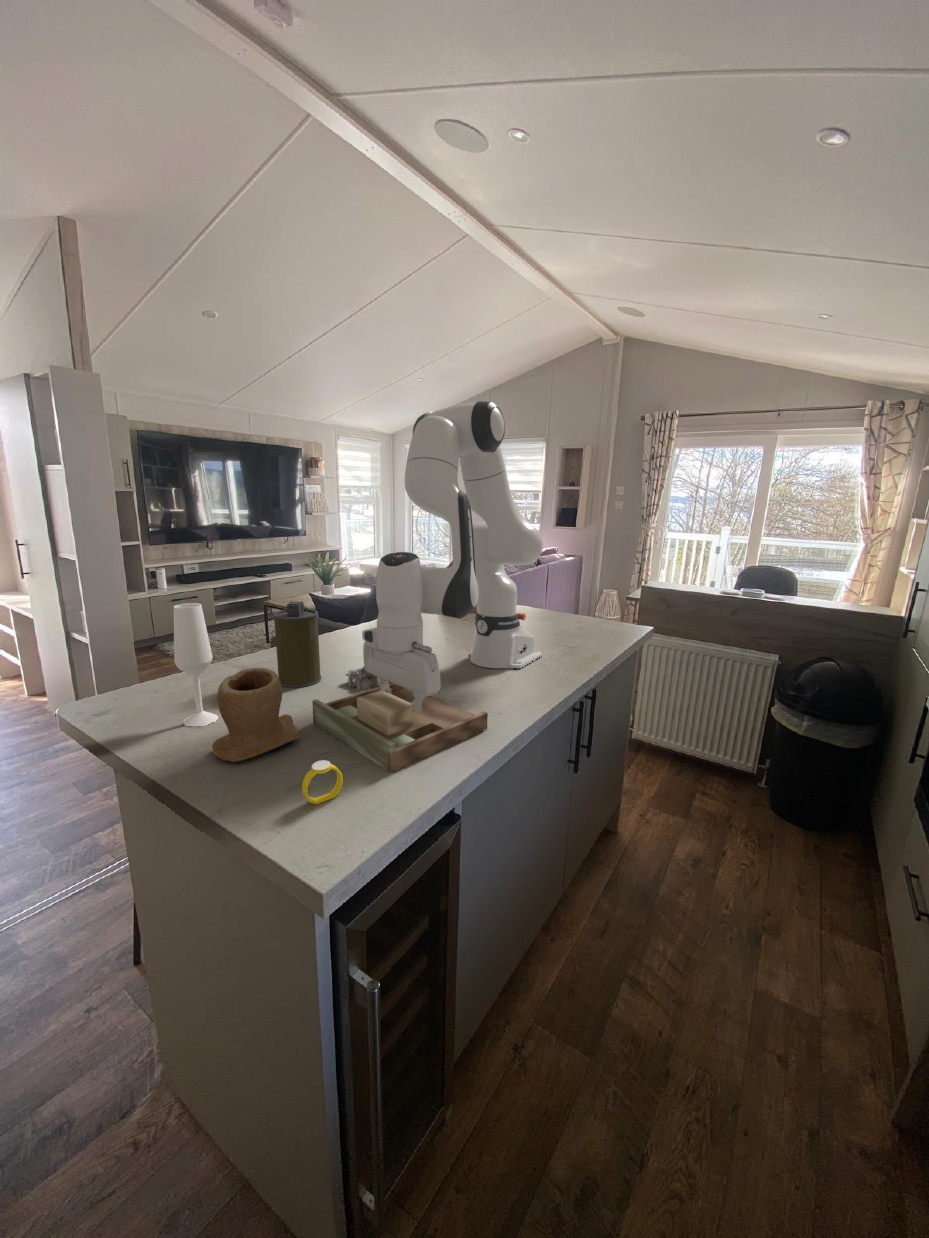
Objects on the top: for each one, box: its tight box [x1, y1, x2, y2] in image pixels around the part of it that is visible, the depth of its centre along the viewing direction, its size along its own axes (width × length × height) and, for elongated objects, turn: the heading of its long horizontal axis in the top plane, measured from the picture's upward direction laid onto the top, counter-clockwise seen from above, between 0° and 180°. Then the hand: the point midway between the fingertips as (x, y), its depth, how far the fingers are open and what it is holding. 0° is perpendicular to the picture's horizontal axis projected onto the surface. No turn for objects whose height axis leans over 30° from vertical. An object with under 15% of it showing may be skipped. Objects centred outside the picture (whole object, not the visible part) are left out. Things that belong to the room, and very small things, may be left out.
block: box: [357, 690, 413, 735], centre depth 97 cm, size 6×10×4 cm, turn 45°
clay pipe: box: [211, 667, 300, 763], centre depth 89 cm, size 15×12×15 cm
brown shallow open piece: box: [312, 682, 489, 773], centre depth 100 cm, size 24×26×5 cm
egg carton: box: [344, 665, 390, 691], centre depth 124 cm, size 11×8×4 cm
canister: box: [272, 600, 322, 689], centre depth 123 cm, size 11×10×20 cm
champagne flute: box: [173, 602, 219, 727], centre depth 99 cm, size 7×7×24 cm
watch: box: [301, 759, 344, 805], centre depth 75 cm, size 6×3×6 cm, turn 129°
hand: (400, 703), depth 100 cm, fingers open, 8 cm apart
